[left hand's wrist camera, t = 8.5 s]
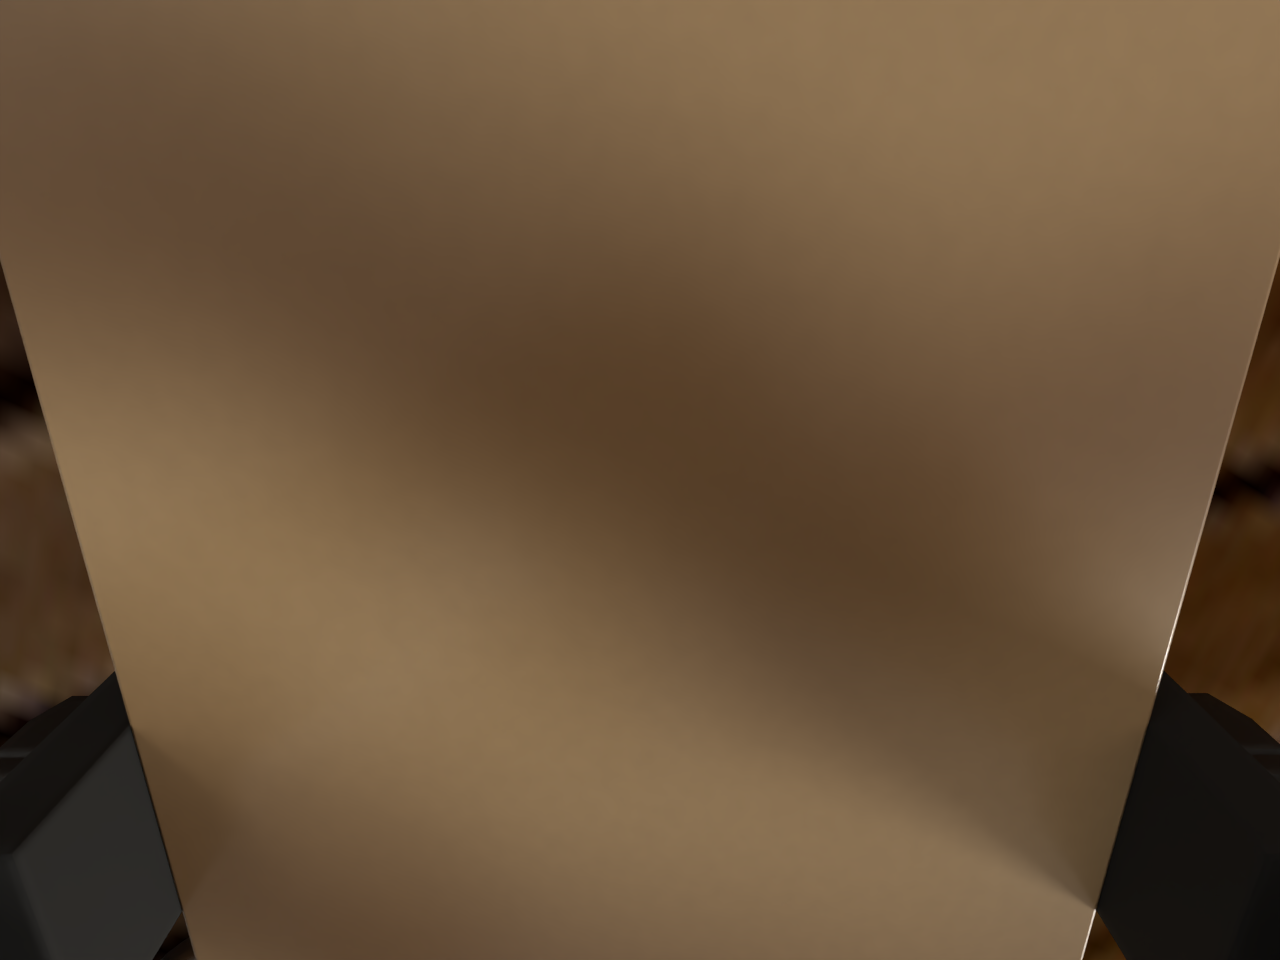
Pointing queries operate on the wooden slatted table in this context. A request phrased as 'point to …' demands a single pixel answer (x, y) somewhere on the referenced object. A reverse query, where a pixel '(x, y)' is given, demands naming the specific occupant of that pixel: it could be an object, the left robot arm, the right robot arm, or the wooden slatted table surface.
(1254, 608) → the wooden slatted table surface
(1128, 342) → the cabinet
